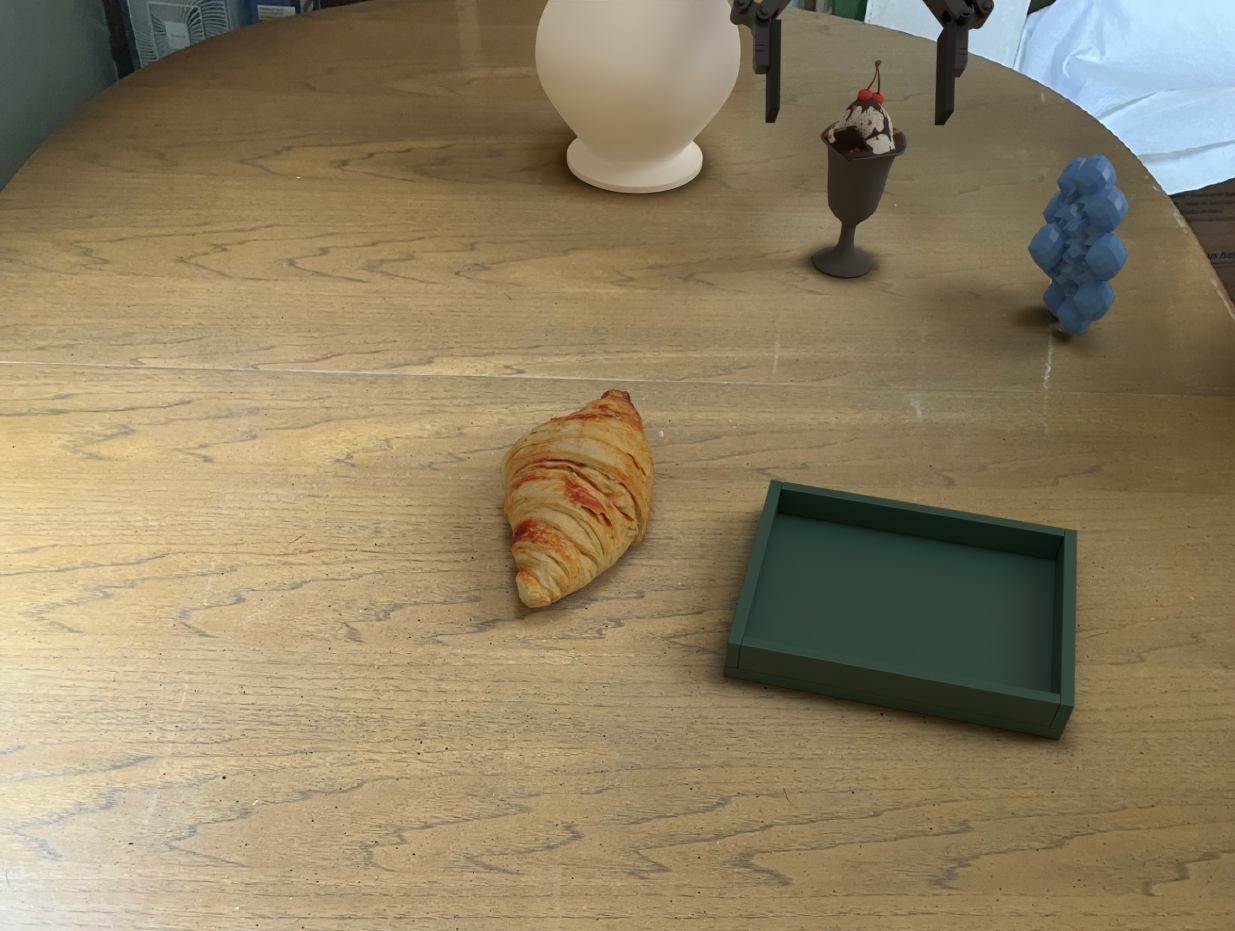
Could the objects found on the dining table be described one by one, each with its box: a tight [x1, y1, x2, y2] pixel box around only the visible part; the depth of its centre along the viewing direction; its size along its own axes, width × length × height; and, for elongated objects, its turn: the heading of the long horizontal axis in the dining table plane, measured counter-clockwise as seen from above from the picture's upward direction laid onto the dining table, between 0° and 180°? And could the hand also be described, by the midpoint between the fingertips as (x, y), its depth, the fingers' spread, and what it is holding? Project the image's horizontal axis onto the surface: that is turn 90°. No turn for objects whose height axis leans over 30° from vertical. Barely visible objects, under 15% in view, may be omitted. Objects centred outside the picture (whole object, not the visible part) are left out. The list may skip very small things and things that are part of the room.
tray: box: [722, 479, 1078, 740], centre depth 75 cm, size 20×16×3 cm
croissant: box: [499, 388, 656, 609], centre depth 80 cm, size 21×10×8 cm, turn 166°
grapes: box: [1027, 153, 1130, 336], centre depth 94 cm, size 12×7×12 cm, turn 7°
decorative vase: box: [534, 0, 741, 194], centre depth 104 cm, size 18×18×25 cm
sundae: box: [812, 59, 908, 279], centre depth 97 cm, size 7×7×15 cm
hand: (858, 117), depth 97 cm, fingers open, 13 cm apart
